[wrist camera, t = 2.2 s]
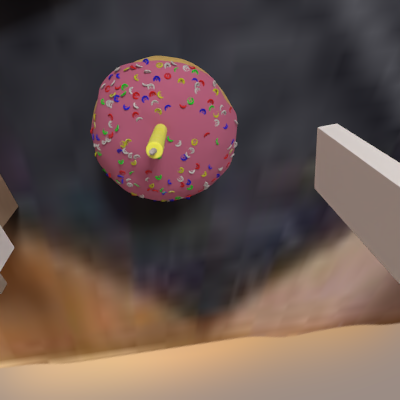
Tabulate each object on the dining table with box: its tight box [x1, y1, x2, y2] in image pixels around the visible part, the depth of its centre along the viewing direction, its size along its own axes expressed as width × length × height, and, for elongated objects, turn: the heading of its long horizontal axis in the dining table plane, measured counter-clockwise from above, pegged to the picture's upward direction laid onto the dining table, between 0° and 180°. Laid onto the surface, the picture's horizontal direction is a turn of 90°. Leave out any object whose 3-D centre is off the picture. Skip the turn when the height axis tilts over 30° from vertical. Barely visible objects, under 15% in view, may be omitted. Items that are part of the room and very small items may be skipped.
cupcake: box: [90, 56, 238, 202], centre depth 17 cm, size 9×8×12 cm
